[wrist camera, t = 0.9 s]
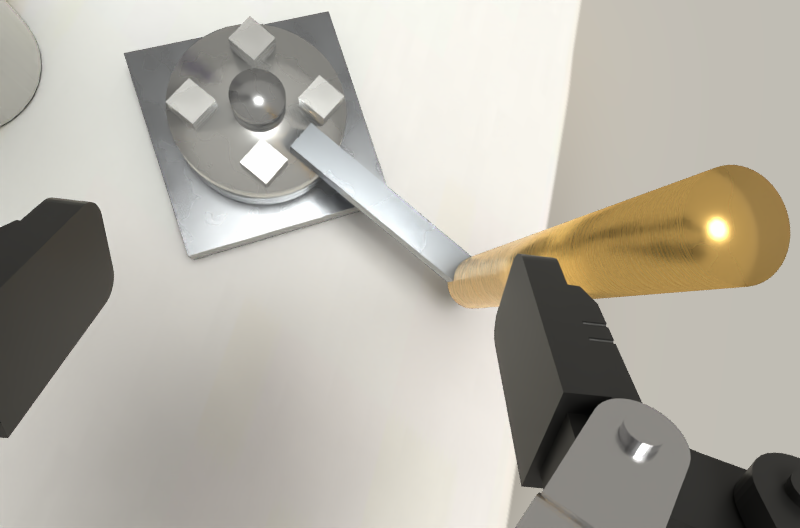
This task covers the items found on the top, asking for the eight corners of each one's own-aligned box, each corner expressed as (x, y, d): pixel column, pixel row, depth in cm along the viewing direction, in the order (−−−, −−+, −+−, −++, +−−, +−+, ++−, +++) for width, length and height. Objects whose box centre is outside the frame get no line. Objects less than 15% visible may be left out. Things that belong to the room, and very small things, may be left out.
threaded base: (133, 68, 35) (95, 6, 28) (326, 27, 38) (334, -38, 31) (193, 259, 34) (170, 244, 28) (385, 203, 37) (406, 176, 30)
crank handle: (140, 130, 32) (-181, -284, 10) (251, 18, 34) (183, -529, 12) (428, 362, 34) (680, 433, 12) (517, 242, 36) (868, 118, 14)
